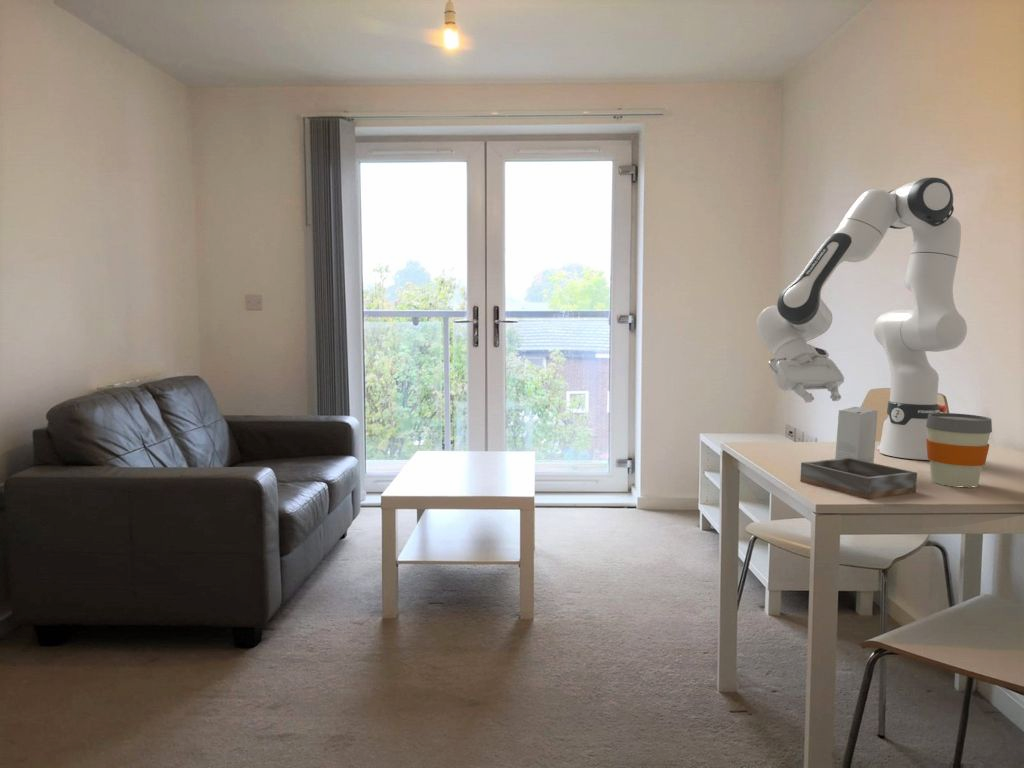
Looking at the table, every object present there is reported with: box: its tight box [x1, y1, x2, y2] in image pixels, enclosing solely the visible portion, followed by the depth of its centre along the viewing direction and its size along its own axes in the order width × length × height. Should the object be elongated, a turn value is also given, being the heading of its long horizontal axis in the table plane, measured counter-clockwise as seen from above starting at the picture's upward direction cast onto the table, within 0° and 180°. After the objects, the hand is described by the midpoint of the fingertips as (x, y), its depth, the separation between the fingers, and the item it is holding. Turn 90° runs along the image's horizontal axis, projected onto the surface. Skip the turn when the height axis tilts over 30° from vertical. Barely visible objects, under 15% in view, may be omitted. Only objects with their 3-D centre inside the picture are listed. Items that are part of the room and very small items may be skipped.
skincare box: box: [834, 406, 879, 463], centre depth 174 cm, size 8×6×15 cm
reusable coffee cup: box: [926, 412, 993, 487], centre depth 163 cm, size 13×13×15 cm
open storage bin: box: [800, 458, 918, 500], centre depth 158 cm, size 15×17×4 cm
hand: (824, 400), depth 182 cm, fingers open, 8 cm apart
